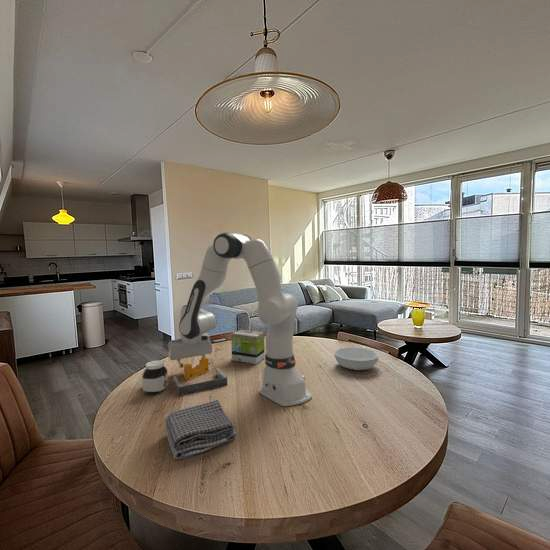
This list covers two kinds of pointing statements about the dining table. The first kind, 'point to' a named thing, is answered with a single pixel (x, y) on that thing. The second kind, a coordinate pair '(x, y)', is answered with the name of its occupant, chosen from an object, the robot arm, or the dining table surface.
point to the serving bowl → (356, 358)
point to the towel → (198, 429)
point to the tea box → (247, 346)
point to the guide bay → (201, 384)
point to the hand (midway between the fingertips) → (191, 365)
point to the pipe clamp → (196, 369)
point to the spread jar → (154, 377)
